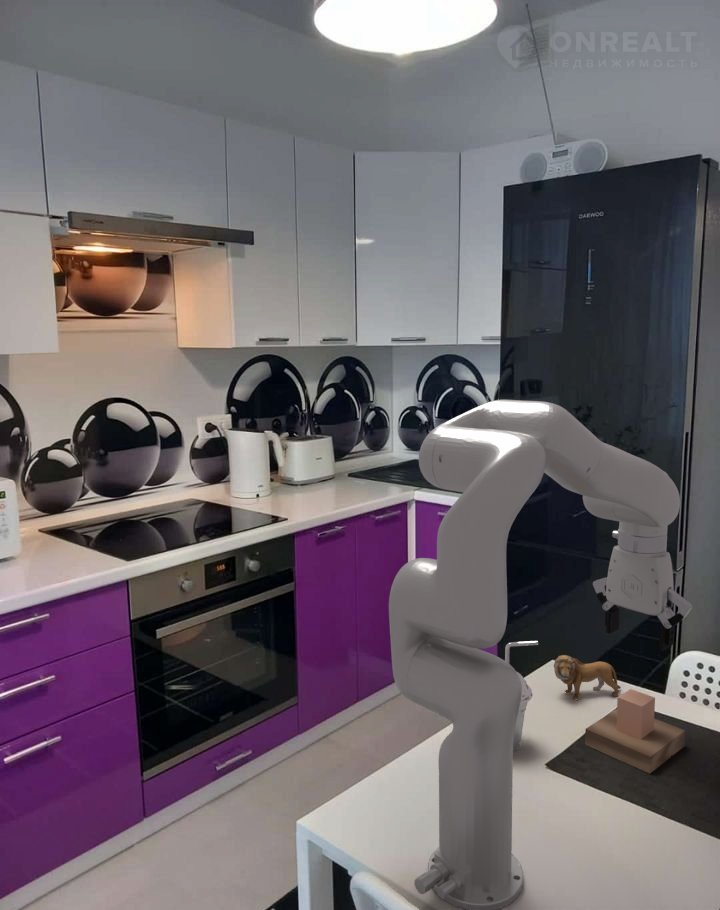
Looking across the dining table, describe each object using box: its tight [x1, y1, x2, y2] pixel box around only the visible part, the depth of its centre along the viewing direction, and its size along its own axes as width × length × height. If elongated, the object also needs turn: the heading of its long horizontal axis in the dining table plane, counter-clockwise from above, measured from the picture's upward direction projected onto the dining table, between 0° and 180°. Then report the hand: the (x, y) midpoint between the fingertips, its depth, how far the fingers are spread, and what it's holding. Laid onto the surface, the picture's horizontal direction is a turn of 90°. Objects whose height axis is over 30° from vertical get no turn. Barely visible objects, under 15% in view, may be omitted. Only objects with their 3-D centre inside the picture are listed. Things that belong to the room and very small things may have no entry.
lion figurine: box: [553, 654, 622, 700], centre depth 147 cm, size 15×5×9 cm, turn 104°
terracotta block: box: [616, 688, 656, 739], centre depth 129 cm, size 4×4×6 cm
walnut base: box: [584, 708, 686, 775], centre depth 129 cm, size 12×12×3 cm
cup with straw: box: [504, 640, 540, 752], centre depth 129 cm, size 8×9×20 cm
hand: (638, 639), depth 126 cm, fingers open, 9 cm apart
